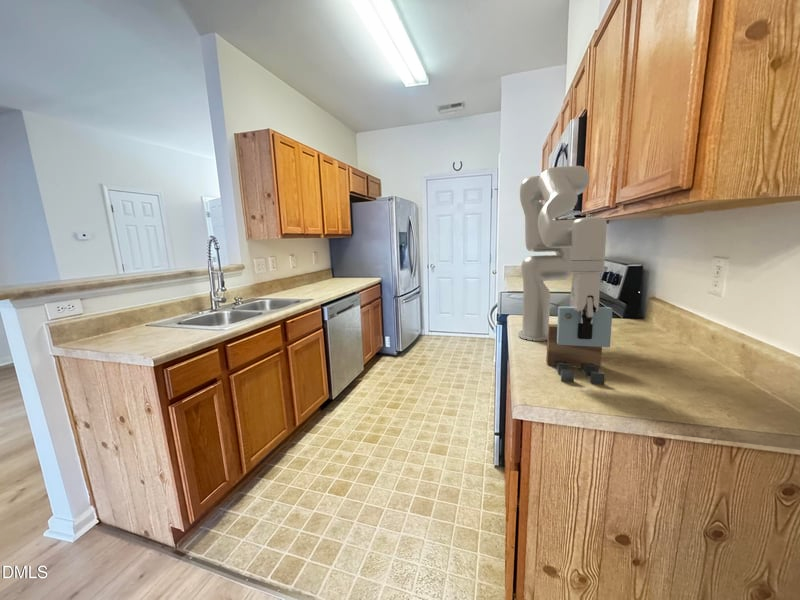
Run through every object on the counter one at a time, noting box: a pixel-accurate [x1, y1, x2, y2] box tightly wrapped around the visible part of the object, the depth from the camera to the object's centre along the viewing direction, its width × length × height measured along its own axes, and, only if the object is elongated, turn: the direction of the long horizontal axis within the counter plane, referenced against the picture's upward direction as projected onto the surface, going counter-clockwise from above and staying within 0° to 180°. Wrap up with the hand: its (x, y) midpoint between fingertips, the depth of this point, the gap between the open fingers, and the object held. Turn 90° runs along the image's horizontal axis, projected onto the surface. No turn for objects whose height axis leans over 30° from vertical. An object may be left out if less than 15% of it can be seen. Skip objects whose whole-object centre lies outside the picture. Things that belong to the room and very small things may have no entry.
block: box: [557, 305, 613, 348], centre depth 84 cm, size 4×12×10 cm, turn 72°
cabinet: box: [545, 323, 603, 370], centre depth 96 cm, size 4×14×12 cm, turn 72°
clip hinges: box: [555, 361, 606, 386], centre depth 89 cm, size 12×10×3 cm
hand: (583, 336), depth 85 cm, fingers closed on block, 2 cm apart
